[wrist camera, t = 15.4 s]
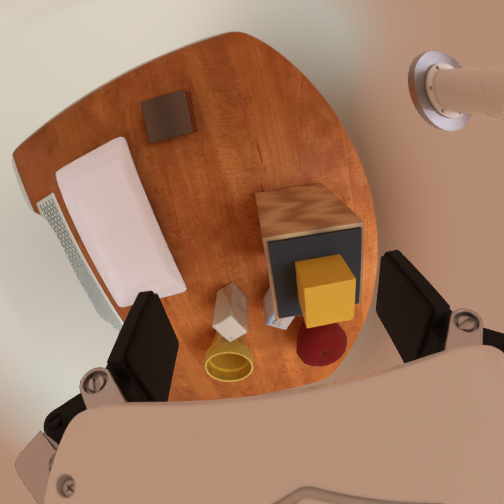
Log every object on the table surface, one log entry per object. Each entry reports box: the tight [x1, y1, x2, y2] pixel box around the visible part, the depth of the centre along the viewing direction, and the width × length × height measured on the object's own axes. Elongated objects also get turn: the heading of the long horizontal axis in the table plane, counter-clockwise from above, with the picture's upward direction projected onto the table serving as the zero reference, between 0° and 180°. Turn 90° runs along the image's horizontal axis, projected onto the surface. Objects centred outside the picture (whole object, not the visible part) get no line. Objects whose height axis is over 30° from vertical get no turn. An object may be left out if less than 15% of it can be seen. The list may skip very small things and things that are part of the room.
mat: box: [268, 227, 362, 319], centre depth 33 cm, size 11×11×1 cm
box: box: [212, 282, 247, 342], centre depth 52 cm, size 5×4×11 cm
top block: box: [295, 254, 356, 328], centre depth 31 cm, size 6×6×6 cm
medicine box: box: [263, 287, 295, 330], centre depth 53 cm, size 8×4×9 cm, turn 157°
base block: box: [141, 90, 197, 144], centre depth 39 cm, size 7×7×5 cm
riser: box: [255, 184, 364, 319], centre depth 42 cm, size 12×12×19 cm
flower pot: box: [204, 332, 254, 382], centre depth 58 cm, size 10×10×10 cm
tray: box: [56, 137, 187, 307], centre depth 48 cm, size 17×32×4 cm, turn 16°
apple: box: [297, 322, 347, 366], centre depth 57 cm, size 11×11×12 cm
